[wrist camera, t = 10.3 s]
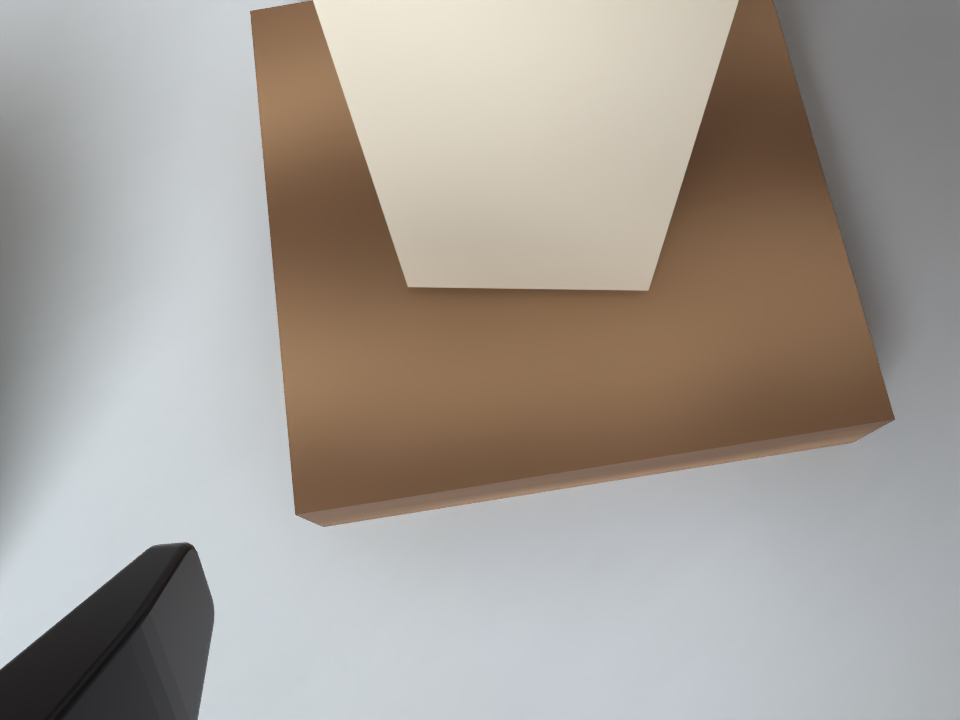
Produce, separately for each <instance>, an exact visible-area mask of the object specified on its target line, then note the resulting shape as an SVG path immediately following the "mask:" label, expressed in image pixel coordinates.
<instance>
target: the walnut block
mask: <svg viewBox="0 0 960 720" xmlns="http://www.w3.org/2000/svg"><path fill="white" fill-rule="evenodd" d="M250 14H251V25H252V36H253V47H254V58H255V69H256V81H257V92H258V103H259V114H260V125H261V136H262V148H263V159H264V170H265V181H266V192H267V203H268V214H269V226H270V237H271V248H272V259H273V270H274V281H275V293H276V304H277V315H278V326H279V337H280V348H281V360H282V371H283V382H284V393H285V404H286V415H287V426H288V438H289V449H290V460H291V471H292V482H293V493H294V505H295V515H297V516H299V517H302V518H304V519H306V520H309V521H311V522H313V523H316V524H318V525H320V526H323V527H326V526H332V525H338V524H345V523H351V522H357V521H363V520H370V519H376V518H382V517H388V516H395V515H401V514H407V513H414V512H420V511H426V510H432V509H439V508H445V507H451V506H458V505H464V504H470V503H476V502H483V501H489V500H495V499H502V498H508V497H514V496H520V495H527V494H533V493H539V492H545V491H552V490H558V489H564V488H571V487H577V486H583V485H589V484H596V483H602V482H608V481H615V480H621V479H627V478H633V477H640V476H646V475H652V474H659V473H665V472H671V471H677V470H684V469H690V468H696V467H702V466H709V465H715V464H721V463H728V462H734V461H740V460H746V459H753V458H759V457H765V456H772V455H778V454H784V453H790V452H797V451H803V450H809V449H816V448H822V447H828V446H834V445H841V444H847V443H853V442H855V441H856V440H858V439H860V438H862V437H864V436H866V435H867V434H869V433H871V432H873V431H875V430H877V429H878V428H880V427H882V426H884V425H886V424H887V423H889V422H891V421H893V420H895V418H894V415H893V411H892V408H891V405H890V401H889V398H888V394H887V391H886V387H885V384H884V380H883V377H882V374H881V370H880V367H879V363H878V360H877V356H876V353H875V350H874V346H873V343H872V339H871V336H870V332H869V329H868V326H867V322H866V319H865V315H864V312H863V308H862V305H861V302H860V298H859V295H858V291H857V288H856V284H855V281H854V277H853V274H852V271H851V267H850V264H849V260H848V257H847V253H846V250H845V247H844V243H843V240H842V236H841V233H840V229H839V226H838V223H837V219H836V216H835V212H834V209H833V205H832V202H831V199H830V195H829V192H828V188H827V185H826V181H825V178H824V174H823V171H822V168H821V164H820V161H819V157H818V154H817V150H816V147H815V144H814V140H813V137H812V133H811V130H810V126H809V123H808V120H807V116H806V113H805V109H804V106H803V102H802V99H801V95H800V92H799V89H798V85H797V82H796V78H795V75H794V71H793V68H792V65H791V61H790V58H789V54H788V51H787V47H786V44H785V41H784V37H783V34H782V30H781V27H780V23H779V20H778V17H777V13H776V10H775V6H774V3H773V0H739V1H738V5H737V8H736V11H735V14H734V18H733V21H732V24H731V27H730V30H729V34H728V37H727V40H726V43H725V46H724V50H723V53H722V56H721V59H720V63H719V66H718V69H717V72H716V75H715V79H714V82H713V85H712V88H711V91H710V95H709V98H708V101H707V104H706V108H705V111H704V114H703V117H702V120H701V124H700V127H699V130H698V133H697V136H696V140H695V143H694V146H693V149H692V153H691V156H690V159H689V162H688V165H687V169H686V172H685V175H684V178H683V182H682V185H681V188H680V191H679V194H678V198H677V201H676V204H675V207H674V210H673V214H672V217H671V220H670V223H669V227H668V230H667V233H666V236H665V239H664V243H663V246H662V249H661V252H660V255H659V259H658V262H657V265H656V268H655V272H654V275H653V278H652V281H651V284H650V288H649V291H641V290H571V289H502V288H432V287H408V286H407V283H406V280H405V277H404V274H403V271H402V268H401V265H400V262H399V259H398V256H397V253H396V250H395V247H394V244H393V241H392V237H391V234H390V231H389V228H388V225H387V222H386V219H385V216H384V213H383V210H382V207H381V204H380V201H379V198H378V195H377V192H376V189H375V186H374V183H373V180H372V177H371V174H370V171H369V168H368V165H367V162H366V159H365V156H364V153H363V150H362V147H361V144H360V141H359V138H358V135H357V132H356V129H355V126H354V123H353V120H352V117H351V114H350V111H349V108H348V105H347V102H346V99H345V96H344V93H343V90H342V87H341V84H340V81H339V78H338V75H337V72H336V69H335V65H334V62H333V59H332V56H331V53H330V50H329V47H328V44H327V41H326V38H325V35H324V32H323V29H322V26H321V23H320V20H319V17H318V14H317V11H316V8H315V5H314V2H313V1H307V2H301V3H295V4H289V5H283V6H277V7H271V8H265V9H259V10H253V11H250Z"/></svg>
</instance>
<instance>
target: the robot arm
mask: <svg viewBox="0 0 960 720" xmlns="http://www.w3.org/2000/svg"><path fill="white" fill-rule="evenodd" d="M213 624H214V605H213V600H212V596H211V593H210V590H209V587H208V584H207V581H206V578H205V574H204V571H203V568H202V565H201V562H200V559H199V556H198V553H197V551H196V549H195V548H194V546H193V545H191V544H189V543H186V542H184V543H172V544H160V545H155V546H152V547H150V548H149V549H147V550H146V551H145V552H143V553H142V554H141V555H140V556H139V557H137V558H136V559H135V560H134V561H132V562H131V563H130V564H129V565H128V566H126V567H125V568H124V569H123V570H121V571H120V572H119V573H118V574H117V575H115V576H114V577H113V578H112V579H110V580H109V581H108V582H107V583H106V584H104V585H103V586H102V587H101V588H99V589H98V590H97V591H96V592H95V593H93V594H92V595H91V596H90V597H88V598H87V599H86V600H85V601H84V602H82V603H81V604H80V605H79V606H77V607H76V608H75V609H74V610H73V611H71V612H70V613H69V614H68V615H66V616H65V617H64V618H63V619H62V620H60V621H59V622H58V623H57V624H55V625H54V626H53V627H52V628H51V629H49V630H48V631H47V632H46V633H44V634H43V635H42V636H41V637H40V638H38V639H37V640H36V641H35V642H33V643H32V644H31V645H30V646H29V647H27V648H26V649H25V650H24V651H22V652H21V653H20V654H19V655H18V656H16V657H15V658H14V659H13V660H11V661H10V662H9V663H8V664H7V665H5V666H4V667H3V668H2V669H0V720H198V714H199V708H200V702H201V696H202V690H203V684H204V678H205V672H206V666H207V660H208V654H209V648H210V642H211V636H212V630H213Z"/></svg>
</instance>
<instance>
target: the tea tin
mask: <svg viewBox="0 0 960 720" xmlns="http://www.w3.org/2000/svg"><path fill="white" fill-rule="evenodd" d="M738 1H739V0H313V2H314V5H315V8H316V11H317V14H318V17H319V20H320V23H321V26H322V29H323V32H324V35H325V38H326V41H327V44H328V47H329V50H330V53H331V56H332V59H333V62H334V65H335V69H336V72H337V75H338V78H339V81H340V84H341V87H342V90H343V93H344V96H345V99H346V102H347V105H348V108H349V111H350V114H351V117H352V120H353V123H354V126H355V129H356V132H357V135H358V138H359V141H360V144H361V147H362V150H363V153H364V156H365V159H366V162H367V165H368V168H369V171H370V174H371V177H372V180H373V183H374V186H375V189H376V192H377V195H378V198H379V201H380V204H381V207H382V210H383V213H384V216H385V219H386V222H387V225H388V228H389V231H390V234H391V237H392V241H393V244H394V247H395V250H396V253H397V256H398V259H399V262H400V265H401V268H402V271H403V274H404V277H405V280H406V283H407V286H408V287H432V288H502V289H571V290H641V291H649V288H650V284H651V281H652V278H653V275H654V272H655V268H656V265H657V262H658V259H659V255H660V252H661V249H662V246H663V243H664V239H665V236H666V233H667V230H668V227H669V223H670V220H671V217H672V214H673V210H674V207H675V204H676V201H677V198H678V194H679V191H680V188H681V185H682V182H683V178H684V175H685V172H686V169H687V165H688V162H689V159H690V156H691V153H692V149H693V146H694V143H695V140H696V136H697V133H698V130H699V127H700V124H701V120H702V117H703V114H704V111H705V108H706V104H707V101H708V98H709V95H710V91H711V88H712V85H713V82H714V79H715V75H716V72H717V69H718V66H719V63H720V59H721V56H722V53H723V50H724V46H725V43H726V40H727V37H728V34H729V30H730V27H731V24H732V21H733V18H734V14H735V11H736V8H737V5H738Z"/></svg>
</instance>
